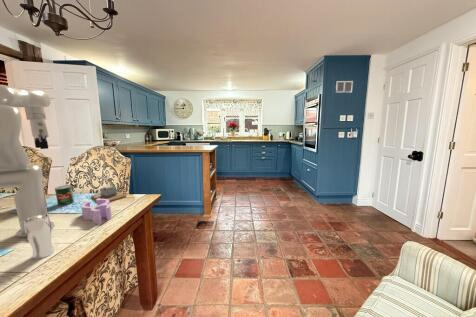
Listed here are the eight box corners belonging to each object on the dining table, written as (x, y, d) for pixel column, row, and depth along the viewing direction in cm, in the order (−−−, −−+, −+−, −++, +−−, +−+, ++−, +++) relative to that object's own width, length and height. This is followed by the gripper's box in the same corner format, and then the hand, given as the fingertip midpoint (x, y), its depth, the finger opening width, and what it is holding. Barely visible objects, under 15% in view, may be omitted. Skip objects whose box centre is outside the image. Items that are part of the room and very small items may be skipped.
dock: (126, 196, 137) (125, 186, 135) (103, 203, 125) (102, 192, 124) (113, 192, 147) (112, 182, 145) (91, 198, 135) (90, 187, 134)
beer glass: (60, 248, 81) (54, 213, 78) (44, 259, 74) (37, 222, 71) (42, 248, 81) (35, 213, 78) (25, 260, 74) (16, 222, 71)
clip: (118, 217, 107) (116, 205, 106) (90, 226, 98) (88, 213, 97) (105, 207, 120) (104, 196, 119) (80, 215, 111) (78, 203, 109)
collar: (116, 194, 136) (116, 187, 136) (105, 198, 131) (104, 190, 130) (112, 192, 140) (111, 186, 140) (100, 196, 135) (99, 188, 134)
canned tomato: (70, 200, 132) (67, 184, 130) (76, 202, 128) (74, 185, 126) (55, 204, 125) (52, 188, 123) (61, 207, 121) (58, 189, 119)
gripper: (50, 116, 107) (55, 148, 110) (41, 117, 117) (46, 146, 120) (30, 116, 101) (36, 150, 104) (22, 117, 111) (28, 148, 114)
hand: (42, 148), depth 112 cm, fingers open, 9 cm apart
